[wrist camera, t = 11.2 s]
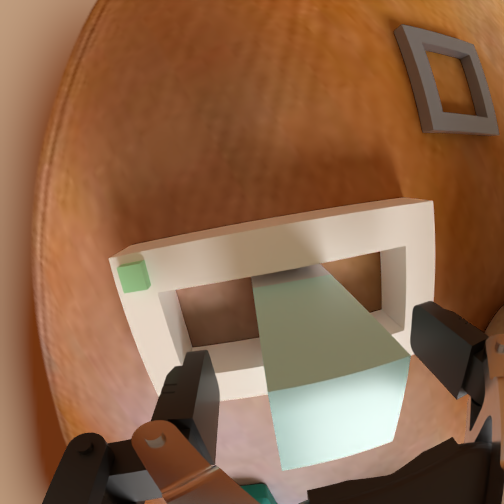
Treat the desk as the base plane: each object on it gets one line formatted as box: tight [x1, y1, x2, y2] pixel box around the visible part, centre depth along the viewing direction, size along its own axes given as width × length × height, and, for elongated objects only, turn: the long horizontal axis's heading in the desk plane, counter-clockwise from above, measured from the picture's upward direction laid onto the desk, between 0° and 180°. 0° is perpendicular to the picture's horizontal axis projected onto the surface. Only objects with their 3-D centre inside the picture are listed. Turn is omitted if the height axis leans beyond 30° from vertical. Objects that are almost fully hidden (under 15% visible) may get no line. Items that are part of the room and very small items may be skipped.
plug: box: [251, 264, 411, 471], centre depth 11 cm, size 4×4×10 cm
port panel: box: [109, 197, 435, 401], centre depth 14 cm, size 16×9×4 cm, turn 100°
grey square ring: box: [394, 24, 499, 136], centre depth 13 cm, size 7×7×1 cm
